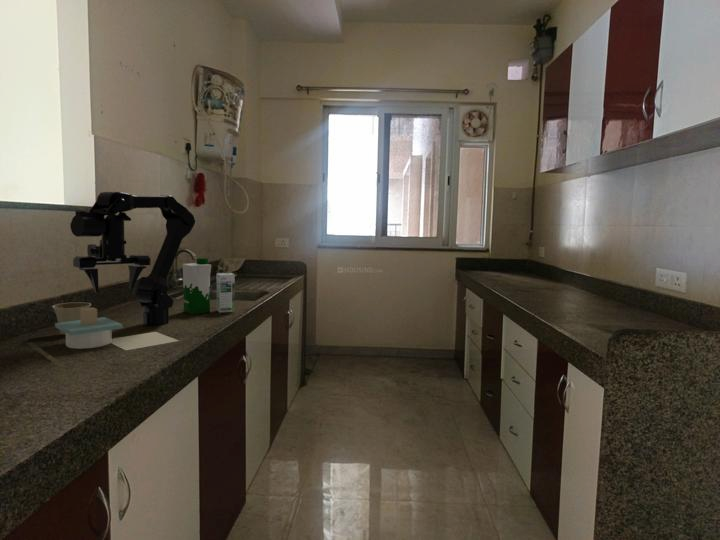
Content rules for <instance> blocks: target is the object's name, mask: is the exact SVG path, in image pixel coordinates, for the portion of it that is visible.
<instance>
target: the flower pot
mask: <svg viewBox="0 0 720 540" xmlns="http://www.w3.org/2000/svg"><path fill="white" fill-rule="evenodd" d="M91 306H92V303H91V302H83V301H81V302H78V301H77V302H76V301H75V302H65V303H63V302H62V303H57V304H54V305H52V309H53V311H54V313H55V314H56V320H57V323H61V322H70V321H78V320H80V309H81V308H91ZM58 330H59V335H66V333H65V332H64V331H62V330H60V329H58Z"/></svg>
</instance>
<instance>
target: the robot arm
mask: <svg viewBox="0 0 720 540" xmlns="http://www.w3.org/2000/svg"><path fill="white" fill-rule="evenodd" d="M154 208H155V209H158V208H159V209H160V212H161V215H162V217H163V218H164V219H165V220H166V223H165V229H166V235H165V238H164V240H163V243H162V245H161V247H160V250H159V253H158V254H157V257H156V260H155V262H154V265H153V267H152V269H151V271H150V273H149V275H148V276H141V277H140V275H141V273H142V271H143V270H144V269H147V266H151V264H152V262H151V260H152V259H151V257H150V256H149V255H147V254H146V255H144V254H129V257H127V254H126V252H125V249H126V248H125V247H126V245H127V240H125V221H126V222H127V221H128V222H130V221H132V218H131V217H130V216H128V215H127V213H126V212H129V211H132V210H134V209H154ZM195 224H196V218H195V216H194V214H193V212H191V211H190V210H189V209H188V208H187V207H186V206H184V205H183V204H181V203H180V202H179V201H177V200H176V198H175V197H174V196H172V195H155V196H153V195H142V196H141V195H133V194H131V193H126V192H121V191H102V192H100V193H99V194H98V195H97V198H96V201H95V202H94V204H93V205H92V207H91V208H90V209H89V210H88V211H84V210H75V214H74V216H73V217H72V219H71V222H70V225H69V226H70V231H71V233H72V234H73V236H75V237H79V238H80V237H81V238H82V237H90V238H91V237H100V236H101V237H100V238H101V239H99V245H97V244H95V243H94V244H91V243H90V244H87V249H86V250H87V255H83V256H82V255H80V256H79V255H78V256H74V257H73V259H72V263H73V267H75V268H78V269H79V270H80V271H84V273H85V274H86V275H87V278H89V281H90V283H91V285H92V288H93V290H94V292H95V294H97V293H99V287H100V286H99V269H98V268H96V266H97V265H103V266H104V265H123V264H124V265H126V264H127V266H128V270H129V276H128V277H129V278H128V287H129V291H132V290H133V289H134V287H135V285H136V283H137V280H138V278H139V277H140V278H139V281H138V284H137V286H136V287H135V289H136V292H135V296H136V297H137V300H138V301H139V303H140V306H141V307H143V308H144V311H143V313H142V314H143V315H142V319H143V320H142V322H143V323H142V324H143V325H144V326H146V327H158V326H165V325H167V324H170V322H169V319H170V317H169V313H170V312H169V309H170V308H172V307H173V305H174V300H173V299H172V297H171V296H169V294H168V290H169V285H168V276H169V274H170V271H171V268H172V266H173V263H174V261H175V259H176V256H177V254H178V252H179V249H180V246H181V244H182V241H183V239H184V238H185V237H187V236H188V235H189V234H191V233H192V230H193V228H194V227H195ZM129 264H130V265H129Z"/></svg>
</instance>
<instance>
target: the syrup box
mask: <svg viewBox="0 0 720 540" xmlns="http://www.w3.org/2000/svg"><path fill="white" fill-rule="evenodd" d="M235 276H236V275H235V273H234V272H221V273H220V272H218V273H216V311H217V312H218V313H219V314H222V313H235V311H236V309H235V308H236V307H235V306H236V305H235V304H236V303H235V301H236V300H235V299H236V298H235V297H236V296H235V293H236V292H235V290H236V289H235V284H236V283H235V281H236V280H235V279H236V277H235Z"/></svg>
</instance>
